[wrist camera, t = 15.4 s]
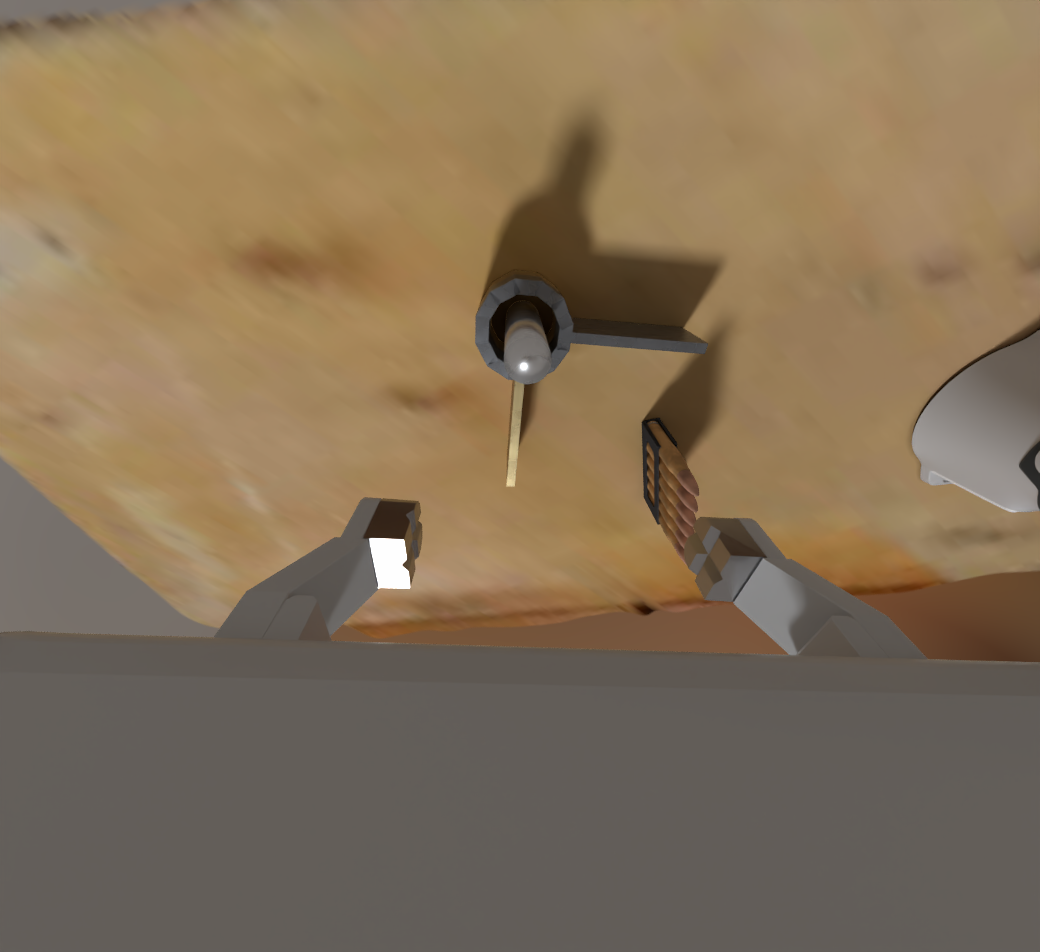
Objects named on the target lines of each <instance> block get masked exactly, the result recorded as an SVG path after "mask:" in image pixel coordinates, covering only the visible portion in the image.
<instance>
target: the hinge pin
mask: <svg viewBox="0 0 1040 952" xmlns="http://www.w3.org/2000/svg"><path fill="white" fill-rule="evenodd" d="M551 364H552V356H551V352H550V349H549V345H548V342H547V339H546V335H545V332H544V329H543V325H542V322H541V319H540V316H539V312H538V310H537V308H536V307H535V305H533V304H532V303H531V302H529V301H525V300H520V301H517V302H515V303H513V304H512V305H511V306H510V307H509V309H508V310H507V313H506V325H505V347H504V366H505V369H506V372H507V373H508V375H509V376H510V377H511V378H512V379H513V380H515V381H516V382H519V383H522V384H533V383H536V382H539V381H540V380H542V379H543V378H544V377H545V376H546V375H547V374H548V372H549V370H550V368H551Z"/></svg>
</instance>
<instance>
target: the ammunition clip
mask: <svg viewBox="0 0 1040 952" xmlns="http://www.w3.org/2000/svg"><path fill="white" fill-rule="evenodd" d="M642 446H643V482H644V499H645V501H646V503H647V504H648V506H649V508H650V510H651V512H652V514H653V516H654V518H655V520H656V522H657V524H658V525H659V524H660V525H661V527H662V529H663V531H664V532H665V534H666V536H667V538H668V540H669V541H670V542H671V543H672V545H673V547H674V548H675V549H676V551H677V553H678V555H679V556H680V558H681V559H682V561H683V562H684V563H685V564H686V562H685V557H684V546H685V543H686V541H687V539H688V537H690V536H691V535H693V534H694V533H695V532H694V529H693V526H694V524H695V522H696V517H695V514H694V512H697V511H698V506H697V502H696V499H695V497H694V496H699V488H698V485H697V482H696V480H695V478H694V476H693V475H692V473H691V471H690V470H689V468H688V466H687V463H686V461H685V459H684V458H683V456H682V455H681V454H680V452H679V451H678V449H677V442H676V441H675V439H674V438H673V437H672V435H671V434H670V432H669V431H668V430H667V428H666V427H665V425H664V424H663V423H662V421H661V420H660V418H656V419H651V420H646V421H643V422H642ZM686 565H687V564H686Z"/></svg>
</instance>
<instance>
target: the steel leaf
mask: <svg viewBox="0 0 1040 952" xmlns="http://www.w3.org/2000/svg"><path fill="white" fill-rule="evenodd" d="M515 295H528V296H537V297H539V298H540V299H541V300H543V301H544V302H545V303H546V304H548V305H549V306H550V307H552V309H553V312H554V315H555V317H556V324H555V332H554V338H553V339H552V340H551V342H550V343H549V344H548V345H549V349H550V352H551V356H552V364H551V368H550V370H549V372H548V374H549V373H551V372H553V371H554V370H555V369H556V368H557V366H558V365H559V364H560V362H561V361H562V360H563V358H564V357H565V356H566V354H567V353H568V352H569V349H570V343H576V344H588V345H600V346H613V347H625V348H637V349H650V350H662V351H674V352H687V353H699V354H705V351H706V349H707V346H708V343H706V342H705V341H703V340H701V339H700V338H698V337H697V336H695V335H693V334H692V333H690V332H689V331H687V330H685V329H684V328H682V327H675V326H663V325H652V324H640V323H628V322H617V321H605V320H593V319H582V318H571V316H570V314H569V311H568V308H567V305H566V303H565V300H564V298H563V296H562V295H561V293H560V292H559V291H557V290H556V289H555V288H554V287H552V286H551V285H550V284H549V283H547V282H546V281H545V280H544V279H542V278H541V277H540V276H530V275H519V274H513V275H512V276H510V277H508V278H506V279H504V280H502V281H500V282H499V283H497V284H495V285H493V286H491V288H490V290H489V291H488V293H487V295H486V296H485V298H484V300H483V302H482V303H481V305H480V307H479V308H478V311H477V314H476V335H475V343H476V345H477V347H478V349H479V351H480V353H481V355H482V357H483V359H484V361H485V362H486V364H487V366H488V367H490V368H491V369H493V370H494V371H496V372H497V373H499V374H500V375H502V376H503V377H505V378H506V379H508V380H513V379H512V378H511V377H510V376H509V375H508V373H507V372H506V369H505V366H504V352H503V351H502V350H500V349H499V348H498V347H497V345H496V343H495V341H494V339H493V337H492V335H491V333H490V319H491V317H492V315H493V314H494V312H495V310H496V309H497V307H498V306H499V304H500V303H502V302H504V301H506V300H508V299H510V298H512V297H514V296H515Z"/></svg>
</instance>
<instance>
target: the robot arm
mask: <svg viewBox="0 0 1040 952" xmlns="http://www.w3.org/2000/svg"><path fill="white" fill-rule="evenodd" d="M912 447H913V451H914V453H915V455H916V456H917V457H918V459H919V460H920V462H921V464H922V466H921V475H920V476H921V480H922V481H924V482H926V483H928V484H930V485H943V484H955V485H957V486H959V487H961V488H963V489H965V490H967V491H969V492H971V493H973V494H975V495H977V496H979V497H980V498H982V499H984V500H986V501H988V502H990V503H992V504H994V505H996V506H998V507H1000V508H1002V509H1004V510H1007V511H1010V512H1018V511H1019V512H1032V511H1040V330H1038V331H1037V332H1036V333H1034V334H1033V335H1031V336H1030V337H1028V338H1026V339H1024V340H1022V341H1020V342H1018V343H1015V344H1013V345H1011V346H1008V347H1006V348H1003V349H1001V350H999V351H997V352H994V353H992V354H990V355H988V356H987V357H985V358H983V359H981V360H980V361H978V362H976V363H975V364H973V365H972V366H970V367H969V368H967V369H966V370H964V371H963V372H962V373H960V374H959V375H958V376H956V377H955V378H954V379H953V380H952V381H950V382H949V383H948V384H947V385H946V386H945V387H944V388H943V389H942V390H941V391H940V392H939V393H938V394H937V395H936V396H935V397H934V398H933V399H932V400H931V402H930V403H929V404H928V406H927V407H926V408H925V410H924V411H923V413H922V414H921V416H920V418H919V420H918V422H917V424H916V426H915V429H914V432H913V437H912ZM420 514H421V509H420V503H419V502H418V501H411V500H398V499H385V498H383V499H381V498H368V497H364V498H363V499H362V500H360V502H359V504H358V506H357V508H356V510H355V512H354V513H353V515H352V517H351V519H350V521H349V523H348V524H347V526H346V528H345V530H344V532H343V534H342V536H341V537H340V538H338V537H335V538H333V539H331V540H330V541H328V542H326V543H325V544H323V545H322V546H320V547H318V548H317V549H315V550H313V551H312V552H310V553H308V554H307V555H305V556H304V557H302V558H300V559H299V560H297V561H295V562H294V563H292V564H290V565H289V566H287V567H286V568H284V569H282V570H281V571H279V572H277V573H276V574H274V575H273V576H271V577H269V578H268V579H266V580H264V581H263V582H261V583H259V584H258V585H256V586H255V587H253V588H251V589H250V590H248V591H246V593H245V594H244V596H243V597H242V598H241V600H240V601H239V602H238V604H237V605H236V607H235V608H234V609H233V611H232V612H231V614H230V615H229V616H228V618H227V619H226V621H225V622H224V623H223V625H222V626H221V628H220V629H219V630H218V632H217V633H216V635H215V636H214V637H178V636H144V635H110V634H76V633H54V632H34V631H22V632H21V631H18V632H17V631H15V632H1V633H0V952H1040V663H1039V662H1038V663H1037V662H1004V661H1003V662H1002V661H967V660H966V661H965V660H936V659H927V658H926V657H925V656H924V655H923V654H922V652H921V651H920V650H919V649H918V648H917V647H916V646H915V645H914V644H913V643H912V642H911V641H910V640H909V639H908V638H907V637H906V636H905V634H904V633H903V632H902V631H901V630H900V629H899V628H898V627H897V626H896V625H895V624H894V623H893V622H892V621H891V620H890V619H889V617H888V616H886V615H884V614H883V613H881V612H879V611H877V610H876V609H874V608H872V607H871V606H869V605H867V604H866V603H864V602H862V601H861V600H859V599H857V598H856V597H854V596H852V595H851V594H849V593H847V592H846V591H844V590H842V589H841V588H839V587H837V586H836V585H834V584H832V583H831V582H829V581H827V580H826V579H824V578H822V577H821V576H819V575H817V574H816V573H814V572H812V571H811V570H809V569H807V568H805V567H804V566H802V565H800V564H799V563H797V562H795V561H794V560H792V559H786V558H785V556H784V555H783V554H782V553H781V552H780V550H779V549H778V548H777V547H776V545H775V544H774V543H773V542H772V541H771V539H770V538H769V537H768V536H767V534H766V533H765V532H764V531H763V529H762V528H761V527H760V526H759V525H758V523H757V522H756V521H754V520H752V519H750V518H716V517H700V518H698V519H697V520H696V522H695V524H694V526H693V528H694V530H695V533H694V534H693V535H691V536H690V537H688V539H687V541H686V543H685V546H684V557H685V562H686V564H687V566H688V568H689V569H690V570H691V571H692V572H694V573H695V574H696V575H697V577H696V580H695V582H696V584H697V586H698V588H699V590H700V592H701V593H702V595H703V597H704V599H705V600H715V601H730V602H734V604H735V605H736V606H737V607H738V608H739V609H740V610H741V611H742V612H744V613H745V614H746V615H747V616H748V617H749V618H750V619H751V620H752V621H753V622H754V623H756V624H757V625H758V626H759V627H760V628H761V629H762V630H763V631H764V632H766V634H768V635H769V636H770V637H771V638H772V639H773V640H774V641H775V642H776V643H777V644H778V645H780V646H781V647H782V648H783V649H784V650H785V651H786V652H787V653H788V654H789V655H774V654H771V655H770V654H740V653H705V652H673V651H640V650H608V649H576V648H543V647H510V646H509V647H508V646H476V645H475V646H473V645H444V644H411V643H408V644H407V643H378V642H345V641H331V638H330V636H331V635H332V634H333V633H334V632H335V631H336V630H337V629H338V628H339V627H340V626H341V625H342V624H343V623H344V622H345V621H346V620H347V619H348V618H349V617H350V616H351V615H352V614H353V613H354V612H355V611H356V610H358V609H359V608H360V607H361V606H362V605H363V604H364V603H365V602H366V601H367V600H368V599H369V598H370V597H371V596H372V595H373V594H374V593H375V592H376V591H377V590H378V588H410V586H411V583H412V579H413V576H414V572H415V559H416V558H418V557H419V554H420V550H421V544H422V524H421V523H420V522H419V521H418V520H419V517H420Z"/></svg>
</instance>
